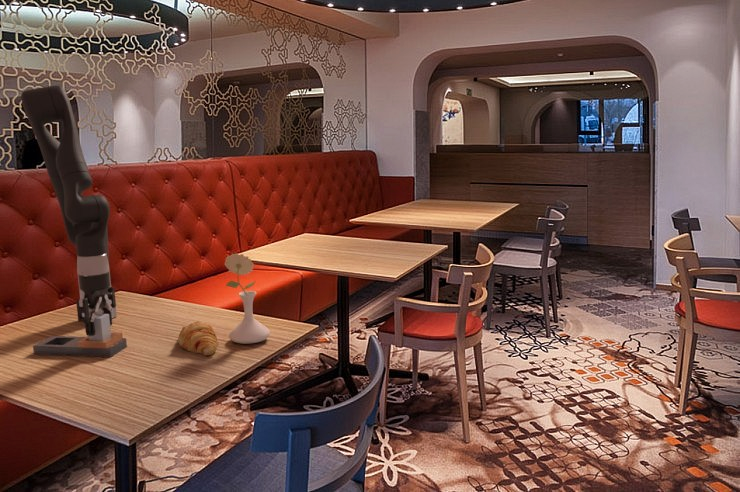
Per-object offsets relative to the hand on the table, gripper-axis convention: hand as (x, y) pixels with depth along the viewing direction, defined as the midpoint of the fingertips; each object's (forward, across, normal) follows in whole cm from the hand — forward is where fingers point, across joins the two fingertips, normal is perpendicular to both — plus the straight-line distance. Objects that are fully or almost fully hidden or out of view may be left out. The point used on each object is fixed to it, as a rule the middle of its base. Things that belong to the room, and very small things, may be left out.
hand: (99, 330), depth 159 cm
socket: (+6, 0, -6) cm, 8 cm away
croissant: (+6, -6, +25) cm, 26 cm away
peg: (+6, 0, 0) cm, 6 cm away
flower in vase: (+6, -12, +37) cm, 39 cm away
